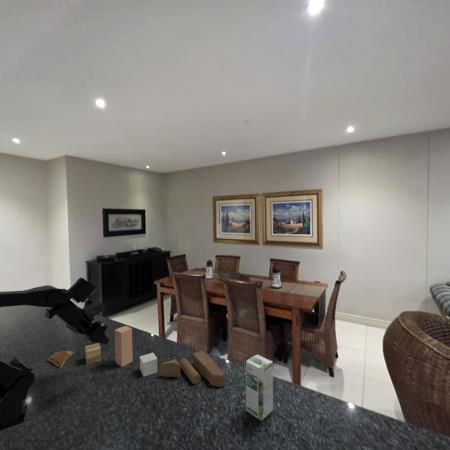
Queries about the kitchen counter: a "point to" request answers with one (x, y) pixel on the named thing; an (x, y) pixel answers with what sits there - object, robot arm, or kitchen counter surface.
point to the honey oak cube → (93, 353)
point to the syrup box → (259, 386)
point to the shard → (60, 358)
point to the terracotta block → (123, 346)
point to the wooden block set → (201, 364)
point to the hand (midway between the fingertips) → (101, 339)
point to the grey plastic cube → (148, 364)
